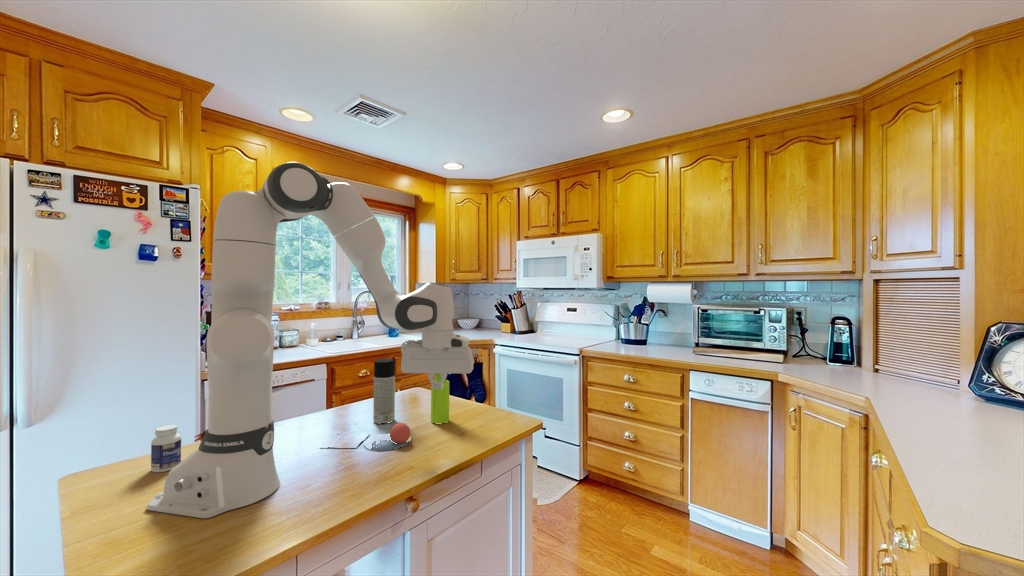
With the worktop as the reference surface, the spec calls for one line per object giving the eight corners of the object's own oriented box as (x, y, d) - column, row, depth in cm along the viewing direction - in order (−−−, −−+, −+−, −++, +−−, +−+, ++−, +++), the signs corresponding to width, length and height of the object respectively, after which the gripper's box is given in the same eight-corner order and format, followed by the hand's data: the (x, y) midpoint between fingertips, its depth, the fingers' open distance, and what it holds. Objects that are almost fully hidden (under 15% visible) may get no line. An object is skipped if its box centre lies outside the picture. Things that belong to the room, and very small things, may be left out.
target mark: (355, 450, 103) (355, 450, 103) (373, 432, 116) (373, 432, 116) (404, 451, 102) (404, 450, 102) (416, 433, 115) (416, 432, 115)
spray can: (397, 418, 129) (398, 358, 129) (389, 425, 122) (389, 362, 122) (378, 417, 130) (379, 358, 130) (369, 424, 123) (369, 361, 123)
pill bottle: (163, 474, 89) (163, 432, 89) (144, 472, 90) (145, 430, 90) (186, 464, 95) (187, 424, 95) (169, 462, 96) (169, 422, 96)
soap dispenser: (450, 424, 123) (450, 362, 123) (429, 424, 123) (429, 362, 123) (453, 418, 129) (454, 359, 129) (433, 418, 129) (433, 358, 129)
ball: (401, 425, 105) (414, 437, 106) (401, 415, 110) (414, 427, 112) (385, 439, 104) (399, 451, 106) (386, 428, 110) (399, 440, 111)
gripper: (397, 341, 106) (397, 391, 106) (471, 341, 106) (471, 391, 106) (404, 338, 112) (404, 385, 112) (474, 338, 112) (474, 386, 112)
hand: (437, 388), depth 109 cm, fingers closed
